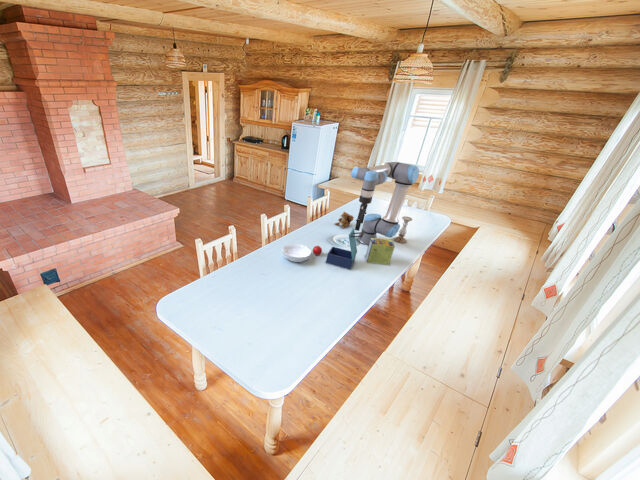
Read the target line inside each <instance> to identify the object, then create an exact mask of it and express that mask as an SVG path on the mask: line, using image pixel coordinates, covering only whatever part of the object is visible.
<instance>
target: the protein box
mask: <svg viewBox="0 0 640 480" xmlns="http://www.w3.org/2000/svg"><path fill="white" fill-rule="evenodd" d="M395 247H396V246H395V243H394V241H393V239H387V238H386V239H385V238H370V242H369V245H367V250H366V253H365V258H366V263H370V264H378V265H386V266H387V265H388V266H389V265H390V263H391V259H392V256H393V254H394V251H395V249H396V248H395Z"/></svg>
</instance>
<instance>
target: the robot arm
mask: <svg viewBox="0 0 640 480" xmlns="http://www.w3.org/2000/svg"><path fill="white" fill-rule="evenodd" d="M419 175H420V169H419V167H418V166H416V165H413V164H408V163H404V162H399V161H389V162H383V163H381V164H379V165H371V166H366V167H360V166H355V167H353V168H352V170H351V173H350V176H351V178H352V179H355V180H358V181H363V182H362V187H361V189H360V190H359V191H360V196H359V199H358V202H359V203H360V205H359V211H358V213H357V214H358V215H357V218H356V219H355V222H356V223H355V226H354V231H356V232H357V231H358V232H359V231H360V228H361V225H362V228H361V231H360V232H362V231H364V232H365V233H364V235H363V237H362V238H360V237H356V241H357V242H358V243H360V244H363V245H366V246H368V245H369V242H370V238H377V237H378V235H377V234H380V235H381V236H384V237H387V238H393V237H395V236H396V235H397V233H399V231H400V229H401V224H400V223H399V222H400V220H399V219H398V218H399V215H400V214H401V213H400V212H401V210H402V207H403V204H404V202H405V199H406V196H407V193H408V190H409V188H410V187H412V186H413V185H414V184H415V183H416V182H417V181H418V179H419ZM388 178H389V179H393V180H394V184H395V187H394V190H393V193H392V195H391V199H390V202H389V205H388V207H387V210H386V214H385V216H383V217H382V215H381V214H379V213H367V209H368V205H370V204H371V203H372V202H373V197H374V193H375V189H376V186H379V185H382V184H384V183H386V182H387V180H388ZM358 236H360V234H358ZM377 239H378V238H377Z"/></svg>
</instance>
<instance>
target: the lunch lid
mask: <svg viewBox="0 0 640 480" xmlns="http://www.w3.org/2000/svg"><path fill="white" fill-rule="evenodd" d="M361 231H362V230H361ZM361 231H360V232H359V231H358V232H355V227H354V228H353V227H352V229H351V230H350V232H349V234H348V241H349V249H350V251H351V255H352V260H353V259H354V257H355V255H356V256H357V253H358V247H357V239H356V238H358V237H360V238H362V237H363V235H364V233H365V232H364V231H362V232H361ZM359 234H360V236H359ZM355 258H356V257H355Z"/></svg>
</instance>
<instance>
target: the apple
mask: <svg viewBox="0 0 640 480" xmlns="http://www.w3.org/2000/svg"><path fill="white" fill-rule="evenodd" d="M311 252H312V253H313V255H315V256H320V255H322V252H323V249H322V247H321V246H320V245H315V246H314V247H313V248H312V251H311Z"/></svg>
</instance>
